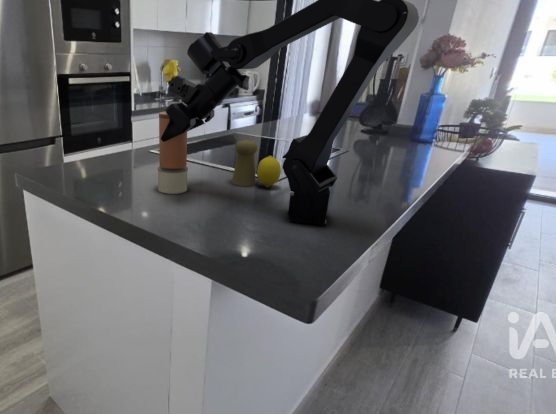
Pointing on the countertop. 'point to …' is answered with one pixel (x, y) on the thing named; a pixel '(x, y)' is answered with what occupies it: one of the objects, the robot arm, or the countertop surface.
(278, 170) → the lemon
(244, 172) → the cork
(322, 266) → the countertop surface
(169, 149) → the terracotta tall cylinder
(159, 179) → the short cream cylinder
